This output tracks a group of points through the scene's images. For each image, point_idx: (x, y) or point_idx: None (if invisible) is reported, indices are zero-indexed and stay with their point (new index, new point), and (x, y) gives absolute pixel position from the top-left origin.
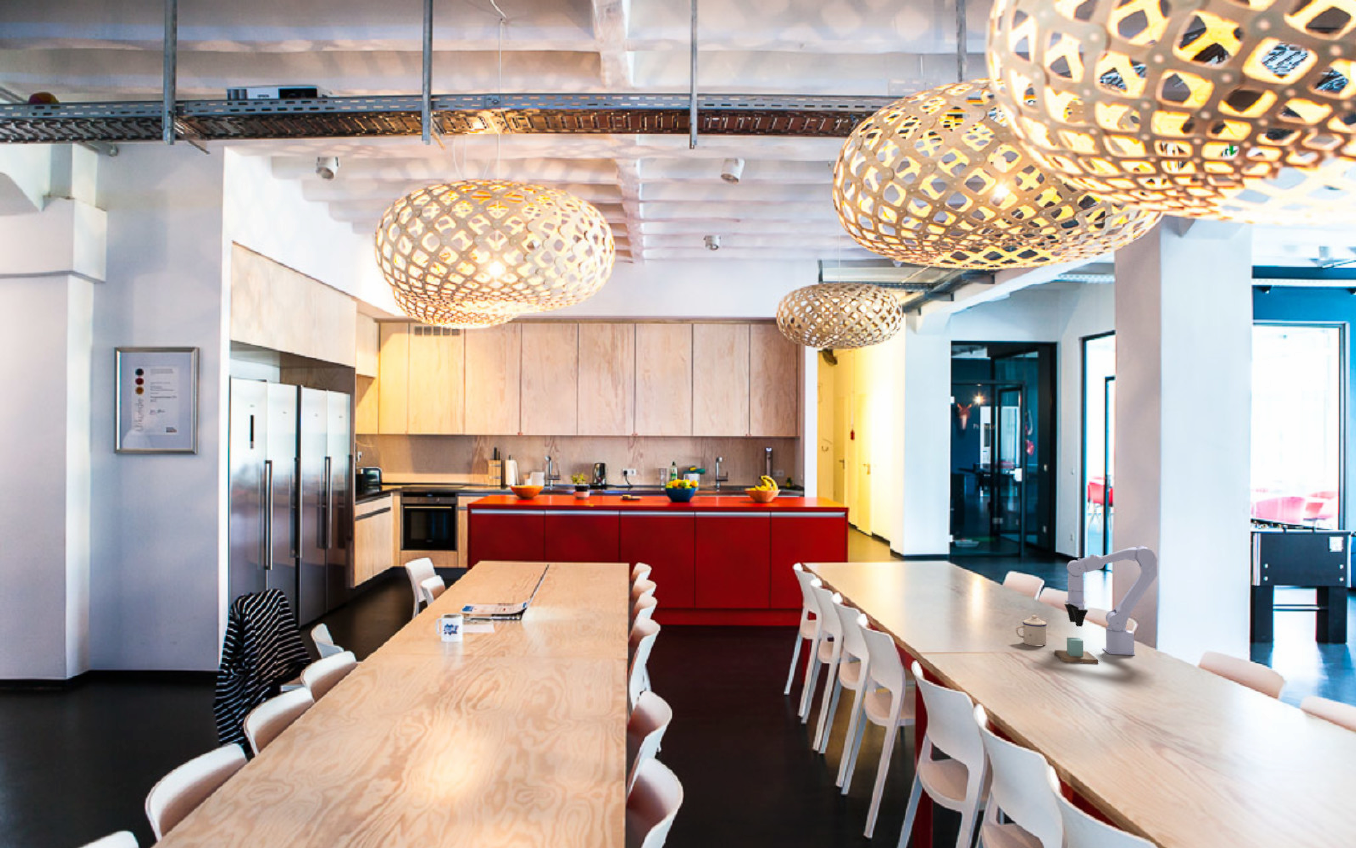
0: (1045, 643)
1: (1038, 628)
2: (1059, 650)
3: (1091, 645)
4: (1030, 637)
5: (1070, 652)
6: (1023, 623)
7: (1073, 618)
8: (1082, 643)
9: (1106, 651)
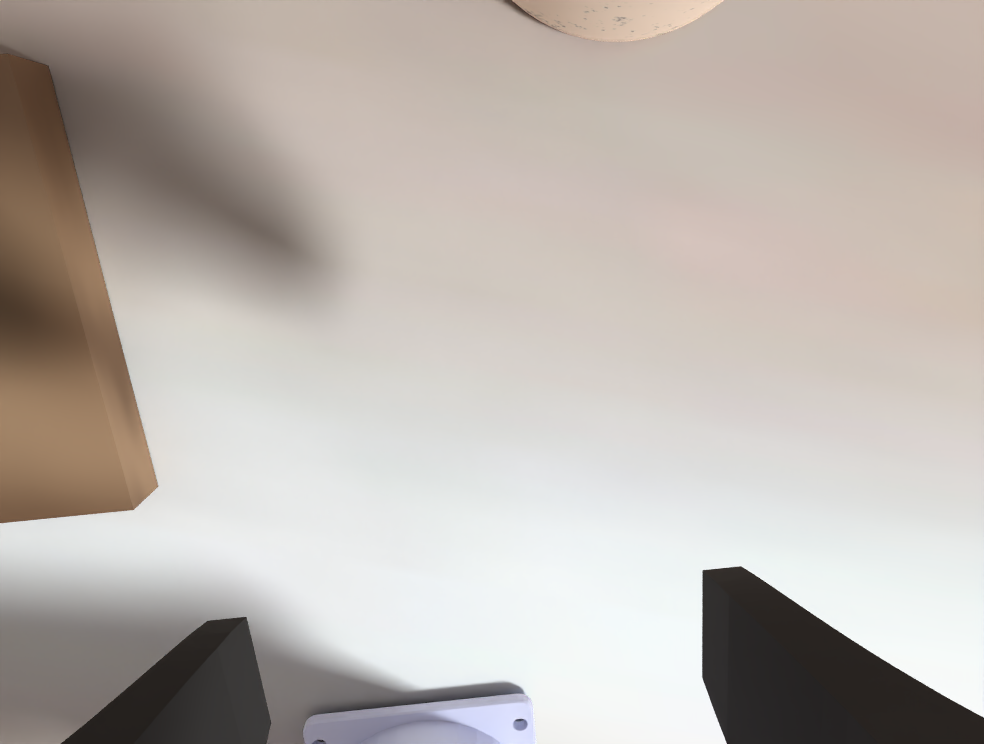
0: (534, 8)
1: None
2: (11, 129)
3: (697, 619)
4: None
5: None
6: None
7: (747, 706)
8: None
9: (389, 710)
